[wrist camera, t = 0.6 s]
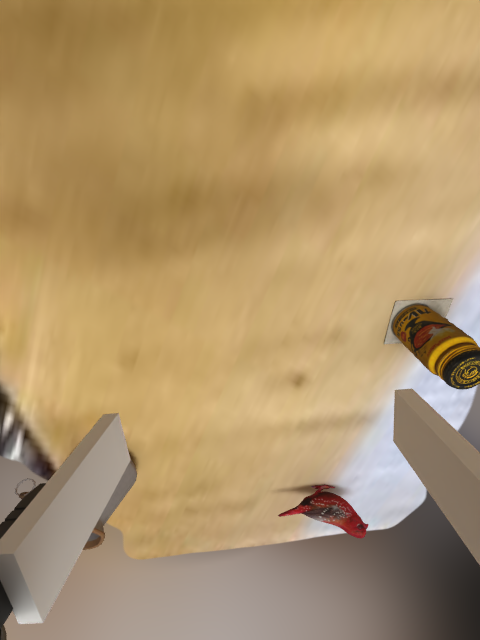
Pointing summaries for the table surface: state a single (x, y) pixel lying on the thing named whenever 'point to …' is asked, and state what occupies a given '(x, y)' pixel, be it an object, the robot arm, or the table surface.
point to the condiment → (436, 341)
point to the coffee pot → (114, 501)
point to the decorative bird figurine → (330, 511)
